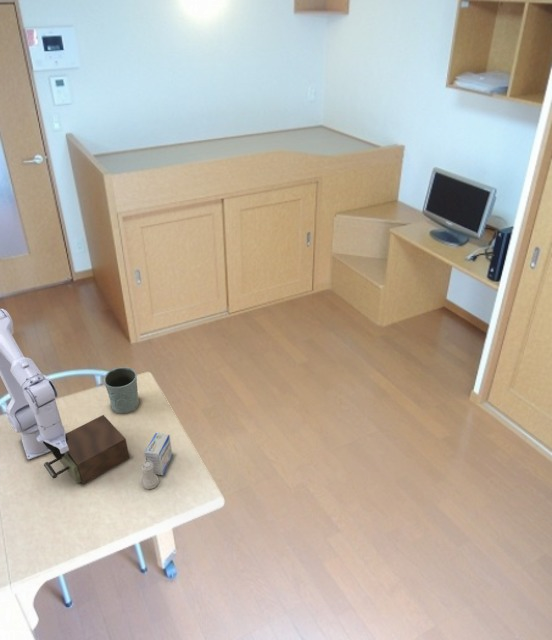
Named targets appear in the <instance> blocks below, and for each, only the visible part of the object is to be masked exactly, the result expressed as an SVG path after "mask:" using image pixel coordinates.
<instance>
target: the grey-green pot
mask: <svg viewBox="0 0 552 640" xmlns="http://www.w3.org/2000/svg"><path fill="white" fill-rule="evenodd" d="M137 377H138V376H137V372H136V370H134V369H133V368H132V367H128V366H121V367H115V368H112V369H110V370H109V371H108V372H107V373H106V374H105V375H104V377H103V384H104V386H105V389H106V391H107V394H108V398H109V401H110V405H111V409H112V411H113V412H115V413H117V414H120V415H121V414H123V415H124V414H128V413H129V414H130V413H131V412H134V411H135V410H136V409H137V408H138V406H139V404H140V403H139V401H140V400H139V392H138V378H137Z"/></svg>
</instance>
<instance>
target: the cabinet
mask: <svg viewBox="0 0 552 640" xmlns="http://www.w3.org/2000/svg"><path fill="white" fill-rule="evenodd" d="M65 435H66V436H67V438H68V440H67V442H66V443H67V445H68V448H69V451H67V453H68V454H69V456H70V457H71V458H72V459H73V461H74V462H75V463H76V465H77V467H78V471H79V474H80V478H81V482H80V483H81V484H82V485H85V484H86V483H87V484H88V483H89V482H91V481H92V480H94V479H96V478H97V477H99V476H101V475H102V474H105V473H106V472H108V471H110V470H111V469H113V468H115V467H116V466H119V465H120V464H122V463H123V462H125V461H127V460H129V459H130V453H129V448H128V443H127V439H126V437H125V436H124V435H123V434H122V433H121V432H120V431H119V430H118V428H117V427H116V426H114V424H112V422H111V421H110V420H109V419H108V418H107V417H106V416H105V414H102V415H100V416H98V417H96V418H94V419H92V420H89V421H88V422H86V423H83V424H82V425H80V426H78V427H76V428H73V429H72V430H70V431H68V432H65Z"/></svg>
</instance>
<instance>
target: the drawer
mask: <svg viewBox="0 0 552 640" xmlns="http://www.w3.org/2000/svg"><path fill="white" fill-rule="evenodd" d="M58 461H60V462H61V464H62V465H63V467H64V468H62V469H61V470H58V471H57V472H56V470H55V469H54V468H53V466H52V465H53V464H55V463H57V462H58ZM43 466H44V468H45V469H46V471H47V473H48V474H49V475H50V476H51V478H52V479H53V480H55V479H57V478H58V476H60V475H61V474H64V473H65V472H66V471H67V472H68V473H69V474H70V475H71V477H72V479H73V480H74V481H75V482H76V484H80V483H82V482H81V478H80V474H79V471H78V467H77V465H76V463H75V462H74V461H73V459H72V458H71V457H70V456H69V454H68V453H67V452H65V453H64V456H63V457H61V458H59V459H56V458H54V459H53V460H50V461H45V462H44V463H43Z"/></svg>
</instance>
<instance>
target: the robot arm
mask: <svg viewBox="0 0 552 640" xmlns="http://www.w3.org/2000/svg"><path fill="white" fill-rule="evenodd" d="M14 332H15V330H14V322H13V319H12V316H11V315H10V313H9V312H8V311H7V310H6V309H5V308H0V379H1V381H2V382H3V385H4V387H5V388H6V390H7V393H8V394H9V397H10V401H9V403H8V404H7V406H6V407H5V414H6V416H7V420H8V423H9V424H10V426H11V428H12V429H13V431H14V432H15V433H18V434H20V437H21V443H22V446H23V449H24V452H25V454H26V455H25V457H26V459H27V460H32V459H35V458H37V457H40V456H43V455H45V454H48V453H52V455H53V456H54V459H59V458H61V457H63V456H64V453H65V452H67V451H69V448H68V445H67V443H66V442H67V440H68V438H67V436H66V435H65V434H66V429H65V427H64V425H63V422H62V418H61V414H60V411H59V408H58V404H57V401H56V398H58V396H59V394H58V390H57V388H56V386H55V384H54V382H53V381H52V380H51V379H50V377H48V376H47V375H46V374H43V373H42V372H41V371H40V369H39V368H38V366H37V365H36V363H35V362H34V360H33V359H32V358H30V357H26V356H24V354H23V352H22V350H21V349H20V346H19V345H18V343H17V341H16V339H15V338H14V336H13V335H14Z"/></svg>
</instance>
